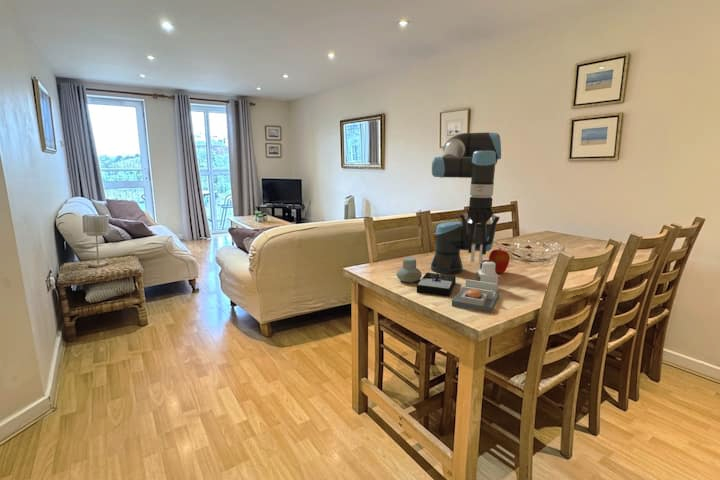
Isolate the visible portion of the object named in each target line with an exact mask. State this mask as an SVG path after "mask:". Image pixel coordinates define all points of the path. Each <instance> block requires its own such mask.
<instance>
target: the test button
mask: <svg viewBox="0 0 720 480" xmlns="http://www.w3.org/2000/svg"><path fill="white" fill-rule="evenodd" d="M481 293H482V292H481V291H480V290H477V289H469V290H467V297H471V298H477V299H480V298H481Z"/></svg>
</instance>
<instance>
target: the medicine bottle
mask: <svg viewBox="0 0 720 480" xmlns="http://www.w3.org/2000/svg"><path fill="white" fill-rule="evenodd" d="M479 265H480V266H479V269H478V270H477V271H476V281H483V282H490V283H497V284H498V282H499V281H498V279H499V275H498V273H496V272H495V270H496V263H495V262H494V261H491V260H489V259H483V260H482V263H481V264H479Z"/></svg>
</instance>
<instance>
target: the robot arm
mask: <svg viewBox="0 0 720 480" xmlns="http://www.w3.org/2000/svg"><path fill="white" fill-rule="evenodd" d="M501 158H502V142H501V136H500V134H499V133H498V132H490V131H489V132H464V133H462V132H461V133H459V134H457V135H454V136H451V137H450V138H449V139H447V140H446V142H445V143H444V145H443V147H442V155H441V156H435V157H433V158H432V161H431V175H432V177H434V178H441V179H442V178H458V179H459V178H461V179H464V178H465V179H467V178H470V179H471V181H470V191H469V192H470V193H469V195H470V197H469V205H468V210H467V212H466V213H462V214H460V216H459V217H460V220H461V221H447V222H446V221H445V222H441V223H439V224H437V226H436V232H435V250H434V251H435V252H434V256H433V258H432V261H431V264H430V270H431V271H433V272H434V273H438V274H445V275H454V274H460V273H462V272H463V268H464V266H463V262H462V258H461V255H460V254H461V251H467V252H468V253H469V254H470V264H473V263H474V262H475V258H476V257H475V255H476V254H475V253H476V252H479V253H478V254H479V255H478V264H479V265H480V264H481V263H482V261H483V260H484V255H486V253H487V252H490V251H492V250H491V249H492V248H493V244H494V239H495V236H496V235H495V234H496V228H497V223H498V222H499V221H500V218H501V217H500V216H496V215H495V214H494V213H493V197H492V196H493V195H494V183H495V172H496V171H495V170H496V165H497V164H498V160H501ZM468 218H469V219H468ZM490 219H491V220H490Z"/></svg>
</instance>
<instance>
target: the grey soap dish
mask: <svg viewBox="0 0 720 480" xmlns="http://www.w3.org/2000/svg"><path fill="white" fill-rule="evenodd" d="M469 289H477V290H480V291H481V292H482V293H481V298H480V299H477V298H471V297H467V290H469ZM499 297H500V290H498V283H490V282H483V281H477V279H476V280H475V279H474V280H473V279H467V278H466V279H465V285H460V289H459V291H458V292H457V293H456V294H455V296H454V297H453V298H452V300H451V306H452V307H455V308H456V307H457V308H462V309H467V310H474V311H477V312H478V311H479V312H484V313H490V314H492V313H493V311H494V309H495V306H496V304H497V301H498V300H499Z"/></svg>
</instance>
